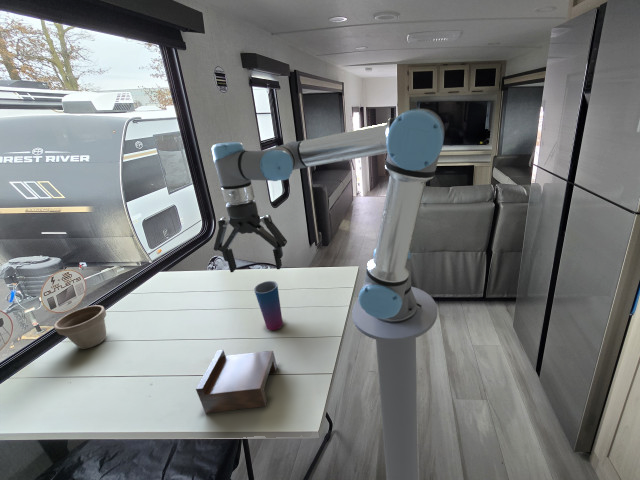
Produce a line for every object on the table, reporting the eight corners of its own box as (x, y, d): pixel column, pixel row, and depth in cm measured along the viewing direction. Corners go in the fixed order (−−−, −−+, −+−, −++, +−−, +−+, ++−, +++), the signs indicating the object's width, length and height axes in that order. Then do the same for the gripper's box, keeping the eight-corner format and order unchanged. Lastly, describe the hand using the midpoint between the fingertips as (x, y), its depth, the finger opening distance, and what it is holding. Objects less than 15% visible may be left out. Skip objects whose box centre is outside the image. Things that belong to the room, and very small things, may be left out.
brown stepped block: (277, 367, 86) (271, 344, 82) (265, 406, 75) (258, 382, 71) (225, 372, 84) (217, 350, 81) (205, 413, 73) (195, 389, 70)
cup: (287, 327, 101) (279, 288, 95) (266, 335, 97) (256, 295, 92) (282, 316, 106) (274, 278, 100) (262, 323, 103) (252, 285, 97)
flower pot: (72, 339, 99) (57, 314, 95) (117, 324, 105) (105, 300, 102) (65, 361, 91) (49, 334, 87) (114, 343, 97) (101, 317, 93)
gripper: (186, 208, 80) (208, 277, 89) (282, 202, 81) (295, 272, 89) (201, 199, 87) (220, 265, 96) (289, 194, 88) (301, 260, 96)
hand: (256, 268), depth 93 cm, fingers open, 13 cm apart
